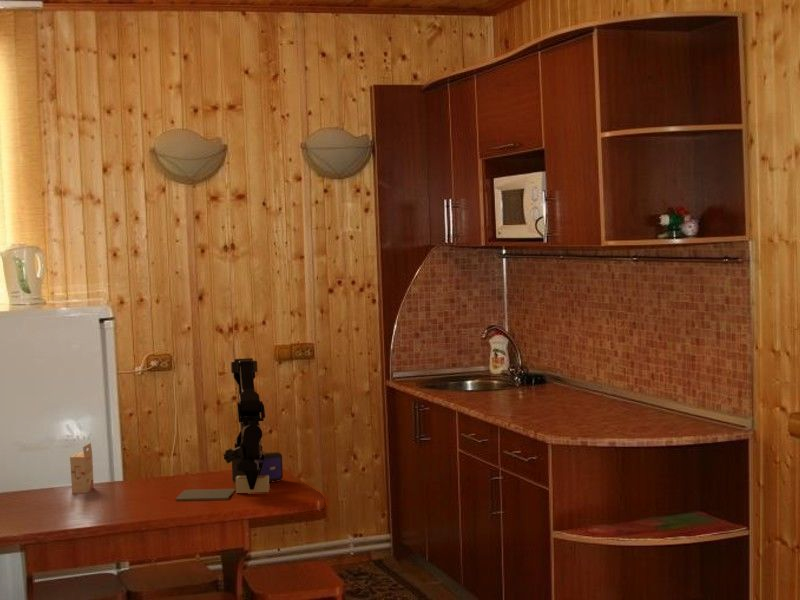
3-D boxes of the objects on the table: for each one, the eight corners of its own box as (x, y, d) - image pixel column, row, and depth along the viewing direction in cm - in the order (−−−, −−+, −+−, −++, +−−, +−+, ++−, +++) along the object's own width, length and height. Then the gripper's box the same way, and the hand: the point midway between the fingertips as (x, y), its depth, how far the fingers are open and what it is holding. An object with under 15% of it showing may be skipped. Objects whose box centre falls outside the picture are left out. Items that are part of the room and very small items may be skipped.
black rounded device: (232, 485, 380) (231, 456, 379) (232, 482, 384) (231, 454, 384) (283, 482, 382) (282, 453, 382) (282, 480, 387) (281, 451, 386)
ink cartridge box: (78, 488, 383) (76, 442, 382) (94, 487, 383) (92, 442, 382) (71, 493, 375) (68, 447, 374) (86, 493, 374) (84, 447, 374)
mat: (184, 491, 372) (184, 489, 372) (235, 490, 372) (235, 488, 372) (175, 500, 359) (175, 498, 359) (227, 499, 359) (227, 497, 359)
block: (237, 491, 370) (237, 475, 370) (269, 490, 370) (269, 475, 370) (236, 493, 367) (235, 477, 367) (268, 493, 367) (267, 477, 367)
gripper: (230, 434, 377) (232, 482, 378) (219, 444, 359) (221, 495, 359) (265, 433, 377) (267, 482, 378) (256, 443, 358) (257, 494, 359)
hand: (252, 488), depth 368 cm, fingers closed on block, 3 cm apart
